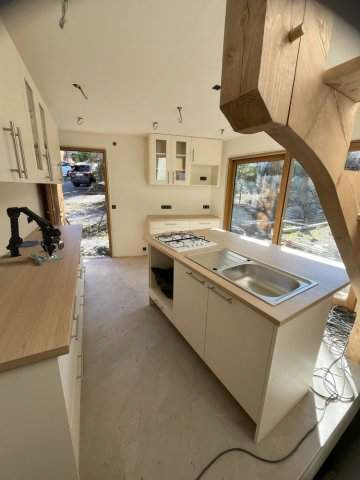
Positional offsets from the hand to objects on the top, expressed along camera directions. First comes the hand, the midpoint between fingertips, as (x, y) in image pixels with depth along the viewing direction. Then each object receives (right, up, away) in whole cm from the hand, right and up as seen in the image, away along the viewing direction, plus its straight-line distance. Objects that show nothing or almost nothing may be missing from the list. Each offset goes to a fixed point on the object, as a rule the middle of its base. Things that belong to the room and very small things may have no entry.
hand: (49, 255), depth 165 cm
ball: (0, +1, 0) cm, 1 cm away
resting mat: (0, -2, +1) cm, 2 cm away
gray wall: (-5, -4, -7) cm, 9 cm away
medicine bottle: (-5, +3, +20) cm, 21 cm away
